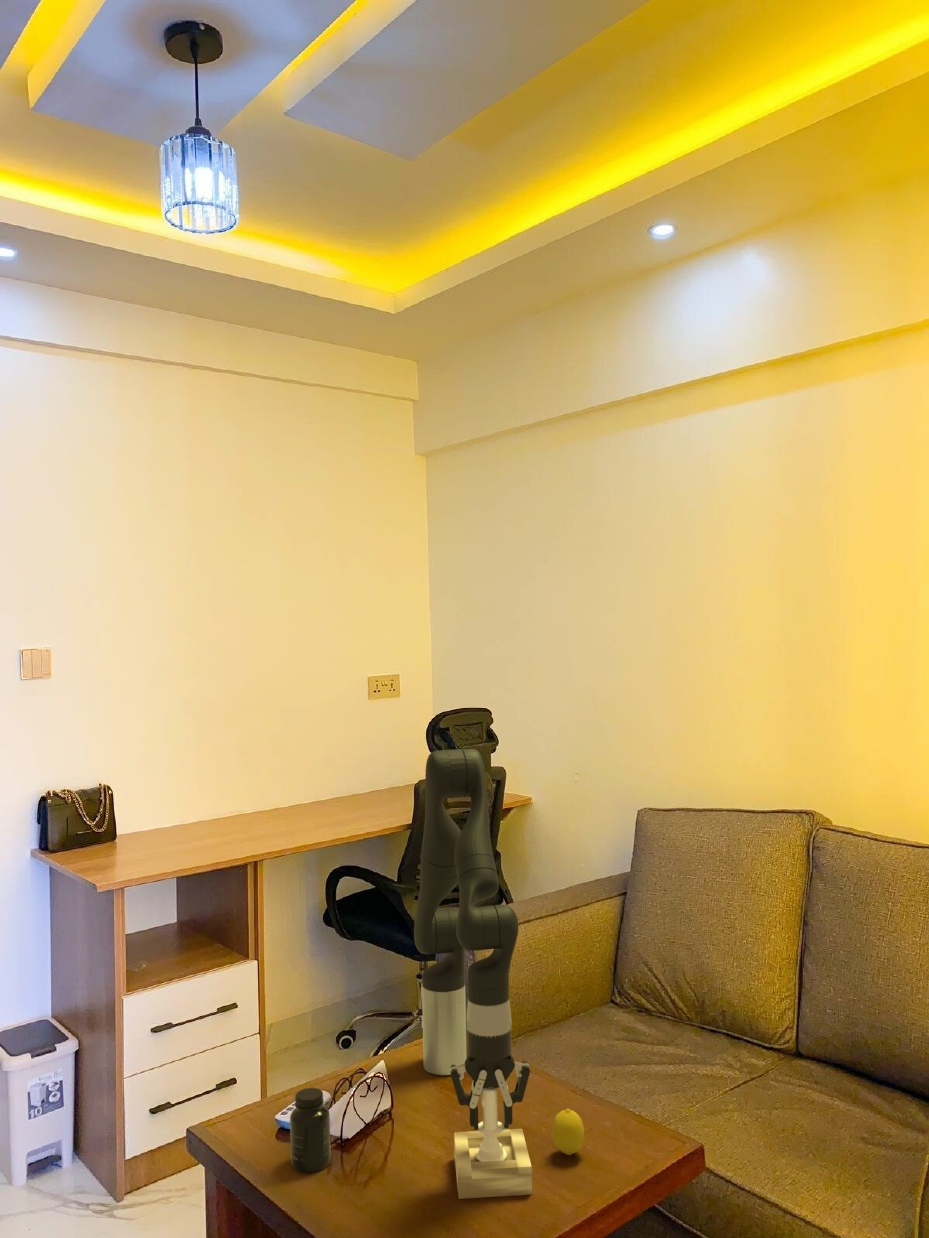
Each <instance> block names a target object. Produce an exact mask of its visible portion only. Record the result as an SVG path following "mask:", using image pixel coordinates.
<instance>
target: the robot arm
mask: <svg viewBox="0 0 929 1238" xmlns="http://www.w3.org/2000/svg"><path fill="white" fill-rule="evenodd" d="M424 779H425V781H424V783H425V785H424V786H425V787H424V788H425V790H424V793H425V799H424V800H425V802H424V803H425V804H424V806H425V809H424V813H425V815H424V825H423V835H422V836H423V837H422V843H421V853H420V854H421V855H420V877H419V890H418V891H419V893H418V899H417V906H416V910H415V918H414V926H413V939H414V944H415V947H416V949H417V951H418V952H419V953H420V954H422V955H436V954H437V955H438V954H439V955H440V954H446V955H445V956H444V957H443V958H442V959H440V960H439V961H437V962H435V963H433V964H432V965H429V966H428V967H426V968H424V970H423V971H422V974H421V1000H422V1001H421V1002H422V1005H421V1006H422V1053H423V1054H422V1055H423V1056H422V1059H423V1061H422V1062H423V1069H424V1070H425V1071H426V1072H427V1073H429V1074H432V1075H437V1076H450V1077H451V1081H452V1084H453V1086H454V1091H455V1094H456V1097H457V1101H458V1104H459V1105H460V1106H467V1107H468V1109H469V1110H468V1111H469V1117H468V1118H469V1124H470V1127H472V1128H473V1130H474V1131H478V1124H479V1106H478V1102H479V1098H480V1096H482V1089H483V1088H488V1087H494V1088H497V1089H498V1088H499V1089H500V1092H501V1095H502V1098H503V1101H502V1116H503V1117H502V1118H503V1119H502V1122H503V1123H502V1124H503V1125H504V1129H509V1128H510V1126H511V1125H512V1124H513V1106H514V1105H515V1104H516V1103H522V1102H523V1101H524V1097H525V1092H526V1089H527V1086H528V1081H529V1077H530V1074H531V1068H530V1064H529V1063H528V1061H526V1060H523V1061H522V1062H520V1061H515V1060H514V1057H513V1053H512V1049H513V1048H512V1023H513V1021H512V1020H513V1019H512V1010H511V1004H510V983H509V982H510V969H511V964H512V960H513V954H514V951H515V948H516V944H517V940H518V934H519V918H518V916H517V913H516V912H515V910H514V909H513V908H512V907H511V906H510V905H507V904H495V905H493V904H492V905H484V906H476V904H478V903H480V902H482V901H484V900H487V899H490V898H492V897H493V896H495V895H496V894H497V893H498V892H499V888H500V883H499V877H498V872H497V871H498V870H497V867H496V862H495V858H494V853H493V847H492V841H491V831H490V830H491V829H490V814H489V813H490V812H489V802H488V801H489V800H488V799H489V797H488V791H487V790H488V789H487V788H488V787H487V777H486V770H485V764H484V760H483V757H482V755H481V753H480V752H479V751H478V750H477V749H474V748H462V749H460V748H459V749H458V748H457V749H441V750H435V751H432V752H431V753H429V755H428V757H427V759H426V764H425V778H424ZM459 798H470V810H469V813H468V815H467V819H466V822H465V823H464V826H463V828H462V830H461V829H460V827H459V826H458V825H457V824H456V822H455V821H454V820H453V819H452V817H451V816H450V814H449V813H448V811H447V809H446V808H445V806H444V803H443V802H444V800H446V799H459ZM457 886H458V889H459V891H458V892H459V903H458V904H459V905H458V906H457V907H456V906H451V907H439V906H440V904H441V902H442V901H443V900H444V899H446V898H447V896H448V895H450V893H451V892H452V891H454V889H455V888H456V887H457ZM487 950H493V951H492V952H491V954H490V955H488V956H486V957H484V958H482V959H479V960H477V961H474V962H472V963H471V964H470V965H469V966H468V968H467V969H468V970H467V1001H466V951H470V952H474V951H487ZM466 1002H467V1004H466ZM466 1006H467V1008H466ZM514 1070H515V1074H516V1076H517V1079H516V1083H515V1087H514V1091H511V1092H510V1089H509V1086H508V1082H507V1080H508V1079H509V1077H510V1076H511V1074H512V1073H513V1071H514ZM465 1073H467V1074H468V1075H469V1076H470V1078H471V1079H472V1083H471V1088H470V1092H469V1094H468V1093H465V1090H464V1086H463V1082H462V1080H463V1079H465V1078H464V1077H465V1076H464V1075H465ZM509 1125H510V1126H509Z"/></svg>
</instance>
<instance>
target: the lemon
mask: <svg viewBox="0 0 929 1238" xmlns="http://www.w3.org/2000/svg"><path fill="white" fill-rule="evenodd" d="M552 1139H553V1142H554V1145H555V1147H556V1148H557V1149H558V1150H559V1151H560V1152H562V1154H563V1153H564V1154H565V1155H570V1156H571V1155H572V1154H575V1153H577V1152H578V1151H579V1150H580V1149H581V1148H582V1146H583V1144H584V1139H585V1127H584V1123H583V1120H582V1118H581V1116H580V1114H578V1113H577V1112H575V1111H574V1110H572V1109H570V1108H566V1109H563V1110H561V1111H560V1112H558V1113H557V1114H556V1116H555V1117H554V1120H553V1122H552Z"/></svg>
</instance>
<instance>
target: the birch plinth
mask: <svg viewBox="0 0 929 1238" xmlns="http://www.w3.org/2000/svg"><path fill="white" fill-rule="evenodd" d="M523 1131H524V1130H523V1128H513V1129H512V1128H510V1129H509V1128H506V1129H504V1130H503V1131H502V1132H501V1133H499V1134H497V1135H496V1137H497V1139H498V1141H499V1143H501V1145H502V1148H503V1149H504V1150H505V1151H506V1153H507V1157H506V1159H505V1160H503V1161H487V1162H480V1161H479V1160H477V1158H476V1156H475V1153H476V1151H477V1150H478V1149H479V1147H480V1144H481V1143H482V1142H483V1140H484V1138H485V1135H484V1134H482V1133H480V1132H479V1131H478V1130H474V1131H473V1130H472V1131H471V1130H469V1131H457V1132H456V1131H454V1132H453V1149H454V1151H453V1153H454V1166H455V1167H454V1168H455V1178H456V1187H457V1194H458V1195H457V1196H458V1200H459V1199H461V1200H463V1199H477V1198H478V1199H479V1198H493V1197H494V1198H496V1197H497V1198H498V1197H511V1196H512V1197H514V1196H528V1195H529V1196H530V1195H533V1183H532V1182H533V1180H532V1179H533V1173H532V1172H533V1171H532V1170H533V1169H532V1167H533V1166H532V1164H531V1163H532V1162H531V1158H530V1155H529V1150H528V1147H527V1142H526V1139H525V1135H524V1132H523Z"/></svg>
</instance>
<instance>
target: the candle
mask: <svg viewBox="0 0 929 1238" xmlns="http://www.w3.org/2000/svg"><path fill="white" fill-rule="evenodd" d="M498 1102H499V1101H498V1088H494V1087H488V1088H482V1091H481V1100H480V1105H481V1108H482V1121H480V1122H478V1130H477V1131H479V1132H480V1133H482V1134H484V1135H485V1138H484V1140H483V1142H482V1143H481V1144H480V1147H479V1149H478V1150H477V1151H476V1153H475V1156H476V1158H477V1160H479V1161H480V1162H487V1161H503V1160H505V1159H506V1157H507V1153H506V1151H505V1150H504V1149H503V1148H502V1145H501V1143H499V1141H498V1139H497V1137H496V1135H497V1134H499V1133H501V1132H502V1131H503V1130H505V1128H504V1123H502V1122H500V1121H499V1114H498V1112H499V1109H498V1106H499V1105H498V1104H499V1103H498Z"/></svg>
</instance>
